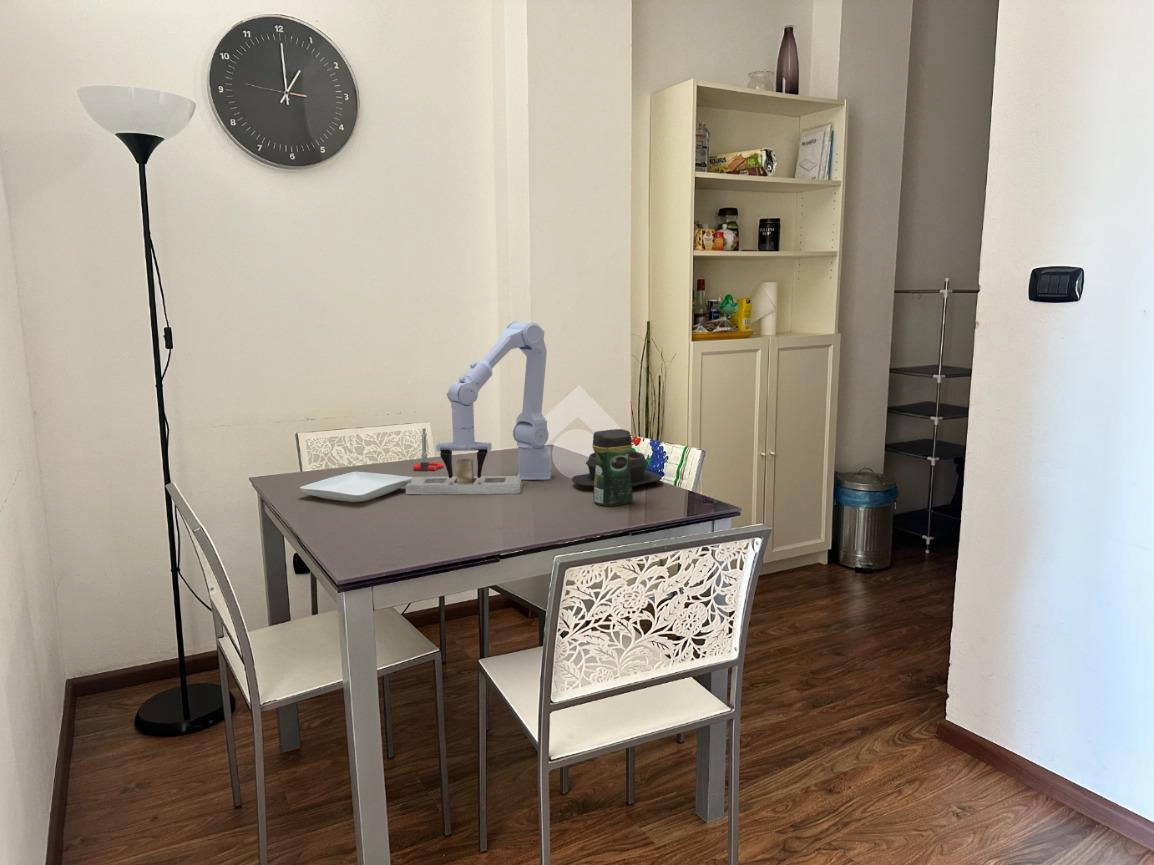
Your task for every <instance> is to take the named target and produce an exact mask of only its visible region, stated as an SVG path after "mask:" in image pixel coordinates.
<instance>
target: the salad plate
mask: <svg viewBox="0 0 1154 865" xmlns="http://www.w3.org/2000/svg"><path fill="white" fill-rule="evenodd" d="M412 478H413V476H404V475H396V474H387V473H377V472H368V471H367V472H364V471H351V472H347V473H344V474H339V475H335V476H332V477H327V478H325V479H322V480H321V479H320V480H318V481H315V482H312V483H308V484H306V485H303V486H300V487H299V489H300V490H301V491H302V492H303V493H305V494H308V495H310V496H314V497H317V498H321V499H323V500H324V499H325V500H331V501H340V502H346V501H347V502H348V503H361V502H363V503H364V502H366V501H370V500H373V499H376V498H379V497H382V496H384V495H388V494H390V493H393V492H395V491H396V490H398V489H400V488H403V487H404V486H405V487H406V484H407V483H408V482H410V481H411V480H412ZM347 502H346V503H347Z"/></svg>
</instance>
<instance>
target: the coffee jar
mask: <svg viewBox="0 0 1154 865" xmlns="http://www.w3.org/2000/svg"><path fill="white" fill-rule="evenodd" d="M592 439H593V440H592V450H593V453H595V458H596V466H595V480H594V486H593V492H592V494H593V498H592V499H593V501H594V503H595V504H597V505H598V506H601V505H602V506H605V507H612V506H613V505H615V506H621V505H620V504H622V505H626V504H630V503H632V501H633V500H634V499H633V498H634V495H633V488H632V484H631V475H630V462H629V458H630V451H632V447H633V443H632V435H631V432H630V431H629V430H626V429H623V428H616V429H615V428H614V429H605V430H597V431H594V432H593V436H592Z"/></svg>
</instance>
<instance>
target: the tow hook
mask: <svg viewBox="0 0 1154 865" xmlns="http://www.w3.org/2000/svg"><path fill="white" fill-rule="evenodd" d="M421 448H422V450H421V451H422V453H421V462H420V463H416V464H415V465H413V471H417V470H426V471H425V472H436V471H435V470H438V469H442V468H443V467H444V464H443V463H440V462H429V461H428V453H427V434H426V427H423V428H422V435H421ZM429 465H433V466H429ZM428 470H430V471H428Z"/></svg>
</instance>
